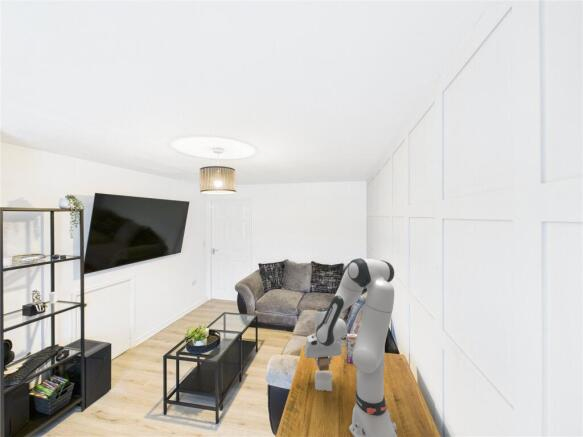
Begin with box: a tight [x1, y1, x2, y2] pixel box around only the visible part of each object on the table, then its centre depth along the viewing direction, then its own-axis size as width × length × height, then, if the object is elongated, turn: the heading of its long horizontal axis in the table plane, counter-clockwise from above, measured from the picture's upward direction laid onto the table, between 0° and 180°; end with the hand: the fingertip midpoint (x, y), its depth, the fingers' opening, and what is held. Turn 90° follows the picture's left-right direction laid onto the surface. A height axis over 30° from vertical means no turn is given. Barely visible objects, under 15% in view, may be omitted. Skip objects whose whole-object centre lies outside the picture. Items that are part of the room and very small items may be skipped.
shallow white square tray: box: [314, 369, 333, 392], centre depth 133 cm, size 9×9×5 cm
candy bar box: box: [345, 333, 358, 364], centre depth 154 cm, size 11×5×16 cm, turn 84°
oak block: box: [317, 356, 330, 371], centre depth 133 cm, size 5×5×6 cm
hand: (323, 363), depth 133 cm, fingers closed on oak block, 5 cm apart
